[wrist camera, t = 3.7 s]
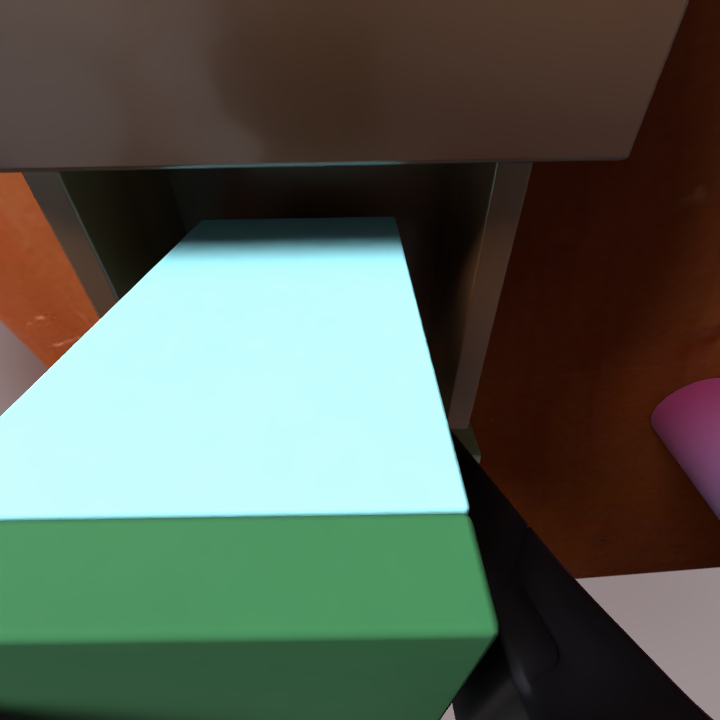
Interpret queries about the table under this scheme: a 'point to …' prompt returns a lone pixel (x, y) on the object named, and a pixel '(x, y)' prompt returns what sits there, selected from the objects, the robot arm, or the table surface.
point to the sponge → (242, 496)
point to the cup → (694, 435)
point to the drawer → (313, 200)
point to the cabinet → (325, 81)
